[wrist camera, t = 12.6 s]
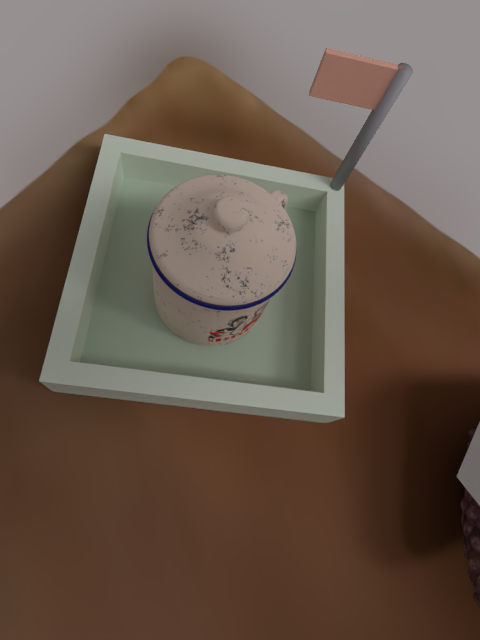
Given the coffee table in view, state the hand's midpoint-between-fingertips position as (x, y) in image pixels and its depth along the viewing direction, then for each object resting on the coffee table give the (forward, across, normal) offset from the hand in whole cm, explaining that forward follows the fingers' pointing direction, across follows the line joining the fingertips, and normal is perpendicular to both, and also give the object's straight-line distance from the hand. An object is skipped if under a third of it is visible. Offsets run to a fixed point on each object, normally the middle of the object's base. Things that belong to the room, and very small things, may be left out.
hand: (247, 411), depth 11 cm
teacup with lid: (+23, 0, -3) cm, 23 cm away
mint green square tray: (+24, 0, -3) cm, 24 cm away
